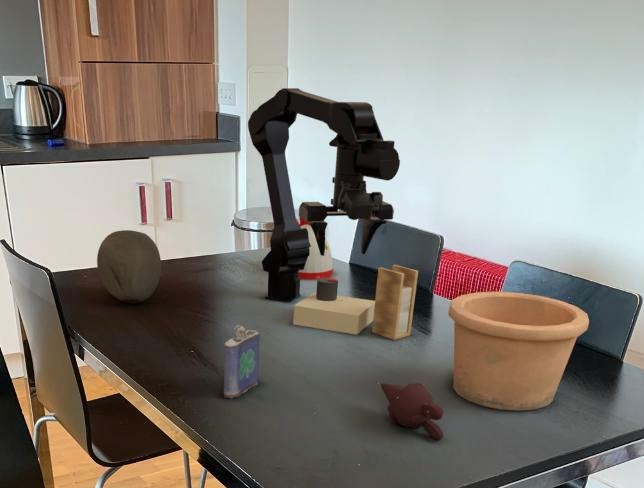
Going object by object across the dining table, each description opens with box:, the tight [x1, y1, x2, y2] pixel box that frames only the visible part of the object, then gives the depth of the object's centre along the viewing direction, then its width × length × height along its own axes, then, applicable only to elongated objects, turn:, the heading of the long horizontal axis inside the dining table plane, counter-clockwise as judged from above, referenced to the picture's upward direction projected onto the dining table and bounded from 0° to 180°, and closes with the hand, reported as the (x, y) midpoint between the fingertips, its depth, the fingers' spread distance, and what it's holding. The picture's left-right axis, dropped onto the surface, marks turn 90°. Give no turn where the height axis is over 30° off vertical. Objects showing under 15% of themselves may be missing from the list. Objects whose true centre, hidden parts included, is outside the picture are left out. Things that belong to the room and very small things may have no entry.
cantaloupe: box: [96, 229, 162, 305], centre depth 170 cm, size 14×14×15 cm
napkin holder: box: [371, 264, 419, 341], centre depth 157 cm, size 6×5×13 cm
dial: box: [315, 277, 339, 301], centre depth 166 cm, size 4×4×4 cm
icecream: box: [379, 382, 445, 441], centre depth 119 cm, size 7×7×15 cm
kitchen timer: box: [296, 216, 334, 280], centre depth 198 cm, size 14×14×15 cm
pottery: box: [448, 291, 590, 412], centre depth 130 cm, size 22×22×14 cm
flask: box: [223, 324, 261, 399], centre depth 128 cm, size 9×3×11 cm, turn 151°
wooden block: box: [292, 291, 375, 336], centre depth 165 cm, size 14×13×4 cm
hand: (342, 254), depth 163 cm, fingers open, 9 cm apart
